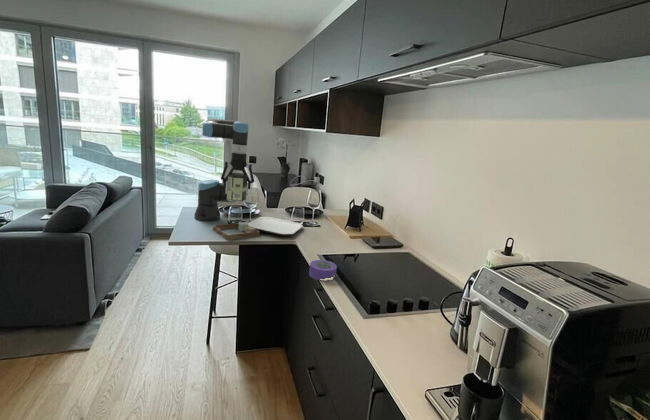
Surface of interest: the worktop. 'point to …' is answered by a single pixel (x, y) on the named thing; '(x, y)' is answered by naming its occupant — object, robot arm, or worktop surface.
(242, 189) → the coffee can
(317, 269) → the tape roll
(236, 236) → the brown wooden frame
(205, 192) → the robot arm
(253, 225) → the plate
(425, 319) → the worktop surface
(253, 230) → the box
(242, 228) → the box
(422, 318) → the worktop surface
